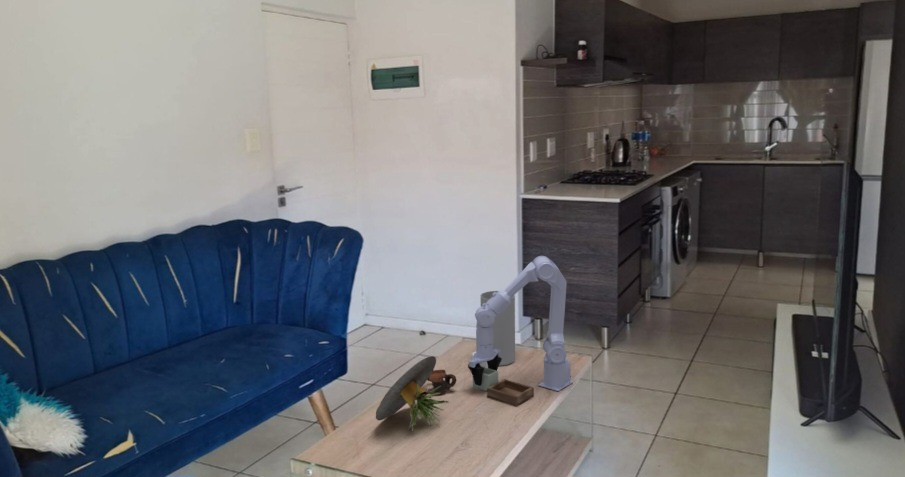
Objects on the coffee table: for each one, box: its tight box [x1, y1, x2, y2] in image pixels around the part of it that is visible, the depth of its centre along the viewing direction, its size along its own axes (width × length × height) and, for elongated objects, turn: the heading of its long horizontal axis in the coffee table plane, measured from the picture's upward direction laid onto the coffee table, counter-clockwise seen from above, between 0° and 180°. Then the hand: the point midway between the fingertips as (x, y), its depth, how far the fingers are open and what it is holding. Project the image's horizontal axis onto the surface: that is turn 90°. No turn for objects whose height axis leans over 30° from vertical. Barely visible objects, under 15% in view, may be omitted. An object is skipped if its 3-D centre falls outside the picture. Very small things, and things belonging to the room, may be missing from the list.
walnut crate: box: [486, 378, 534, 407], centre depth 228 cm, size 10×12×3 cm
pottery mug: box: [427, 369, 458, 396], centre depth 235 cm, size 12×10×8 cm
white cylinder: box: [470, 350, 488, 368], centre depth 249 cm, size 7×7×7 cm
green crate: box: [472, 367, 499, 393], centre depth 236 cm, size 5×7×6 cm
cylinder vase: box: [480, 290, 516, 367], centre depth 259 cm, size 12×12×25 cm
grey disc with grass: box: [375, 355, 452, 432], centre depth 209 cm, size 25×18×25 cm
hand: (485, 381), depth 236 cm, fingers open, 7 cm apart
